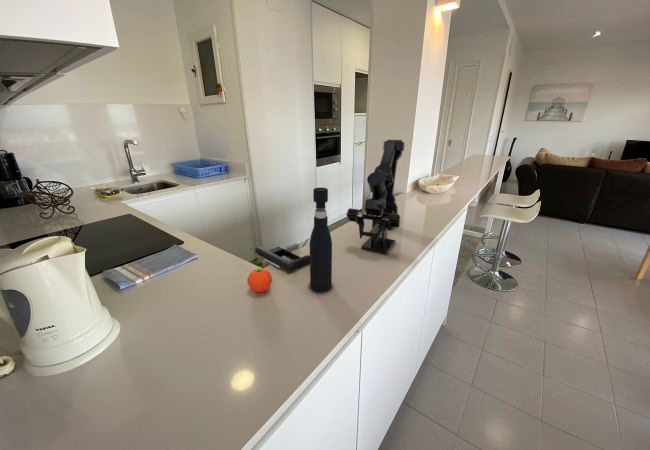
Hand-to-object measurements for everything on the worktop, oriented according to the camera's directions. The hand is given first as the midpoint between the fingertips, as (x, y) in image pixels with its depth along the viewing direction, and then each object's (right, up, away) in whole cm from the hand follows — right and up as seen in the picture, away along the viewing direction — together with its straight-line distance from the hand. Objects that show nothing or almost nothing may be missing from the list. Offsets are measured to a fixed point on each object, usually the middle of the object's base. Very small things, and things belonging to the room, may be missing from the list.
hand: (368, 239), depth 96 cm
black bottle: (-16, -14, -13) cm, 25 cm away
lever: (+4, +3, +6) cm, 8 cm away
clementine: (-34, -14, -14) cm, 40 cm away
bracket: (+6, -3, +14) cm, 16 cm away
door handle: (-29, -7, +4) cm, 30 cm away
